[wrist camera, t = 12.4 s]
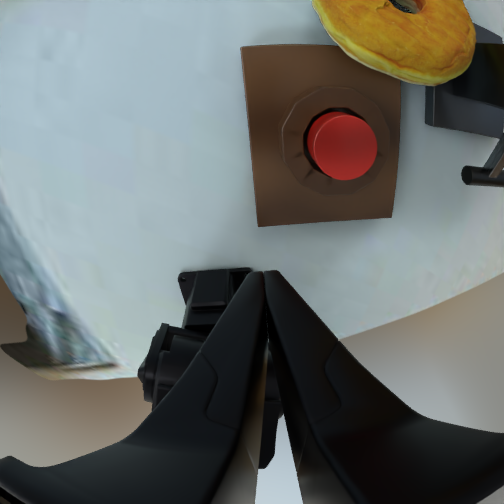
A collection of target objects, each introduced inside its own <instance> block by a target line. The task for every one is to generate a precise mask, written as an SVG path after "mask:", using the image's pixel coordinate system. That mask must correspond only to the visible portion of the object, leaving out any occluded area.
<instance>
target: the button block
mask: <svg viewBox="0 0 504 504" xmlns="http://www.w3.org/2000/svg"><path fill="white" fill-rule="evenodd" d="M240 50H241V59H242V69H243V78H244V88H245V98H246V108H247V118H248V128H249V138H250V149H251V159H252V169H253V180H254V191H255V201H256V212H257V223H258V227H265V226H277V225H290V224H303V223H317V222H331V221H346V220H362V219H379V218H392V212H393V205H394V198H395V189H396V180H397V170H398V158H399V143H400V119H401V82H400V79H397V78H394V77H392V76H390V75H388V74H385V73H382V72H380V71H377V70H374V69H372V68H369V67H367V66H365V65H363V64H362V63H360V62H358V61H356V60H354V59H353V58H351V57H350V56H348V55H347V54H346V53H345V52H344V51H343V50H342V49H341V48H340V47H339V46H334V45H314V44H277V45H257V46H244V47H241V48H240ZM330 112H343V113H347V114H349V115H352V116H355V117H358V118H360V119H362V120H363V121H365V122H366V123H367V124H368V125H369V126H370V127H371V129H372V130H373V132H374V134H375V137H376V140H377V154H376V158H375V161H374V163H373V165H372V166H371V167H370V169H369V170H368V171H367V172H366V173H364V174H363V175H362V176H360V177H358V178H355V179H351V180H338V179H335V178H332V177H330V176H328V175H327V174H325V173H324V172H323V171H322V170H321V169H320V167H319V166H318V165H317V164H316V163H315V161H314V160H313V159H312V157H311V155H310V153H309V151H308V146H307V137H308V133H309V130H310V128H311V126H312V124H313V123H314V122H315V121H316V120H317V119H318V118H319V117H321V116H322V115H324V114H327V113H330Z"/></svg>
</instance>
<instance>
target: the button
mask: <svg viewBox="0 0 504 504" xmlns="http://www.w3.org/2000/svg"><path fill="white" fill-rule="evenodd" d="M307 146H308V151H309V153H310V155H311V157H312V159H313V160H314V161H315V163H316V164H317V165H318V166H319V167H320V169H321V170H322V171H323V172H324V173H325V174H327V175H328V176H330V177H332V178H335V179H338V180H351V179H355V178H358V177H360V176H362V175H363V174H364V173H366V172H367V171H368V170H369V169H370V167H371V166H372V165H373V163H374V161H375V158H376V154H377V140H376V137H375V134H374V132H373V130H372V129H371V127H370V126H369V125H368V124H367V123H366V122H365V121H363V120H362V119H360V118H358V117H355V116H352V115H349V114H347V113H343V112H330V113H327V114H324V115H322V116H321V117H319V118H318V119H317V120H316V121H315V122H314V123H313V124H312V126H311V128H310V130H309V133H308V137H307Z"/></svg>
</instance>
